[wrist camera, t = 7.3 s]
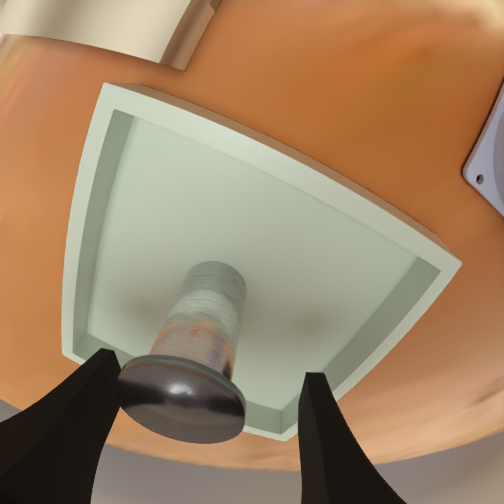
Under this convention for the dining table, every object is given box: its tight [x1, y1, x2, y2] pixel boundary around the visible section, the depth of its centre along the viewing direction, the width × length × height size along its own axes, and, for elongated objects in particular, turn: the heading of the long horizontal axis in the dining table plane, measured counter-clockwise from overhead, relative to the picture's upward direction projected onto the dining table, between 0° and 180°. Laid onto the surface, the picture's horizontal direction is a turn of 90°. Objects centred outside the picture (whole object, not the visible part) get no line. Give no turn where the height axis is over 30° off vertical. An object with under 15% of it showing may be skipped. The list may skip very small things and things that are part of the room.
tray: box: [62, 82, 463, 442], centre depth 14 cm, size 16×16×3 cm
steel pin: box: [114, 261, 247, 444], centre depth 11 cm, size 4×4×7 cm
